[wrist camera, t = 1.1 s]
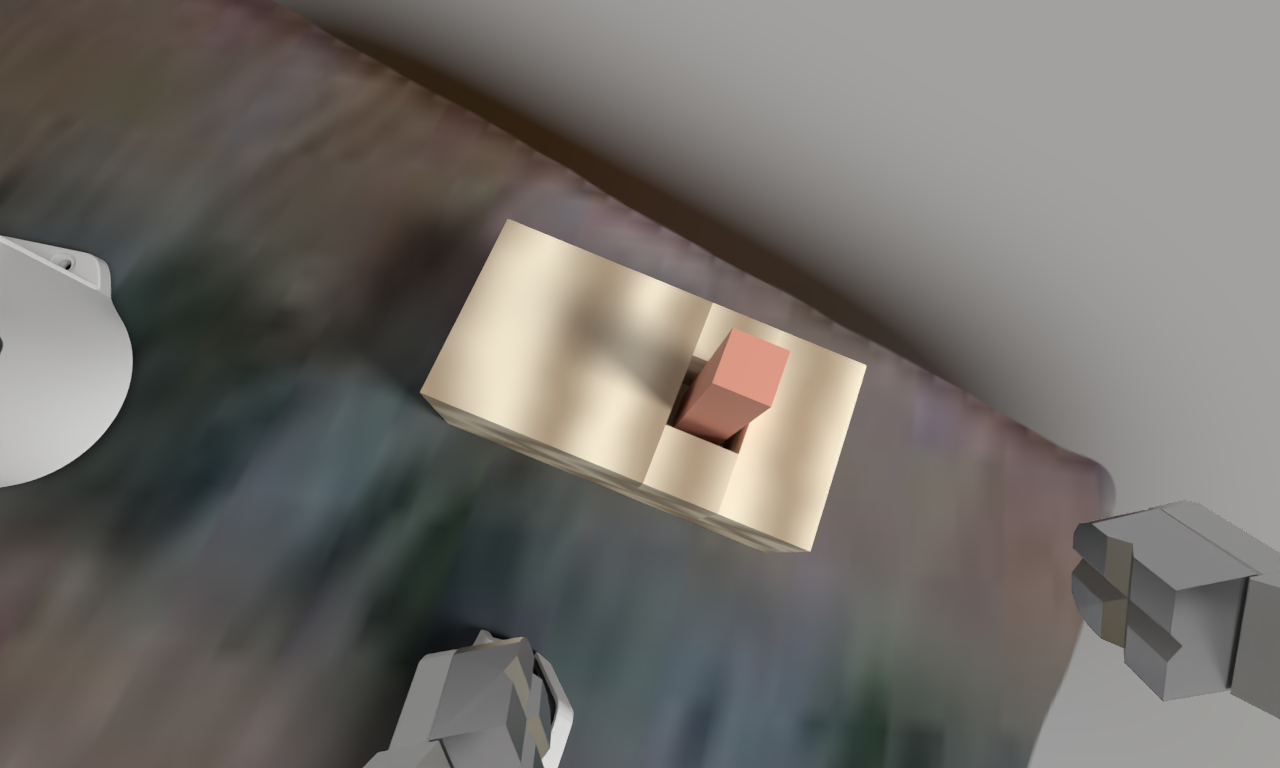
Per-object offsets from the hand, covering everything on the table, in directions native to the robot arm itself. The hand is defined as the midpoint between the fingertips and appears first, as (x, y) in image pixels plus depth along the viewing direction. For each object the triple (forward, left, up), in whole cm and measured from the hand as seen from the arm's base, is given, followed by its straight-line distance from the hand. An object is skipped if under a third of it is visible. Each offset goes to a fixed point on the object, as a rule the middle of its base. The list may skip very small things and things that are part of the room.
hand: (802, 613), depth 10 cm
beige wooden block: (-3, +11, -36) cm, 38 cm away
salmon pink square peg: (+1, +11, -33) cm, 35 cm away
